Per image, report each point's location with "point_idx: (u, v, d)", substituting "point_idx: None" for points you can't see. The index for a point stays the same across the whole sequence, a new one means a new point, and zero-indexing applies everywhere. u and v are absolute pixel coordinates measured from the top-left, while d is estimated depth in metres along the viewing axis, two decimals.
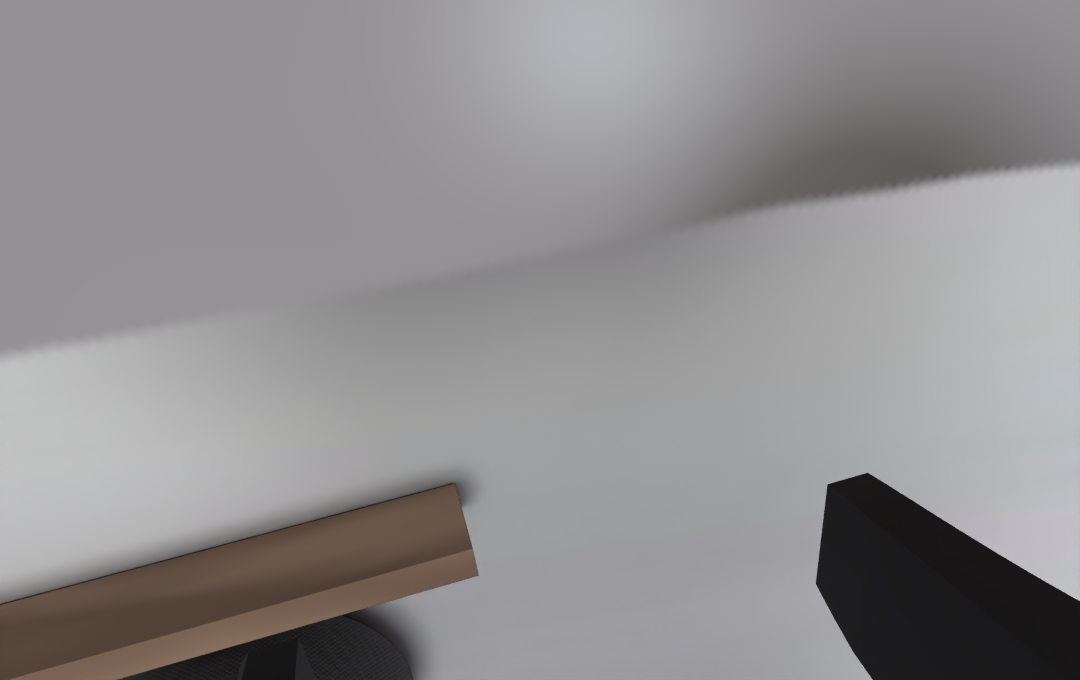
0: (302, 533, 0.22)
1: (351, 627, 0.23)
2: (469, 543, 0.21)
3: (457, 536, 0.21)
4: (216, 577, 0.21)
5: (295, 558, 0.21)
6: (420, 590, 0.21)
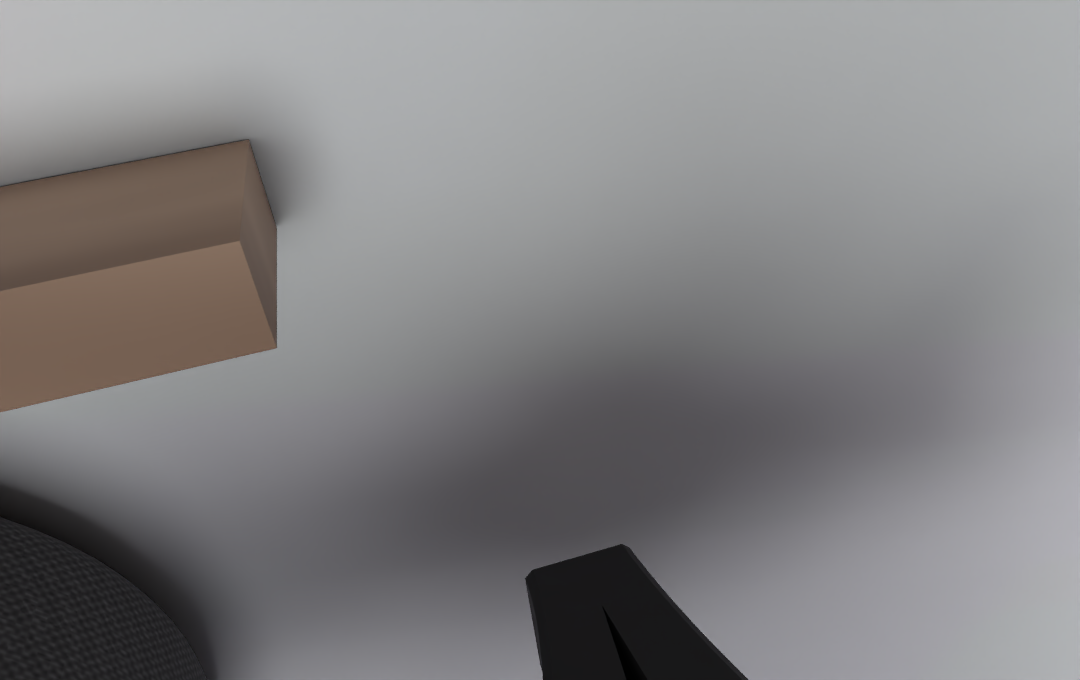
0: None
1: None
2: (234, 230, 0.06)
3: (205, 220, 0.07)
4: None
5: None
6: (83, 385, 0.07)
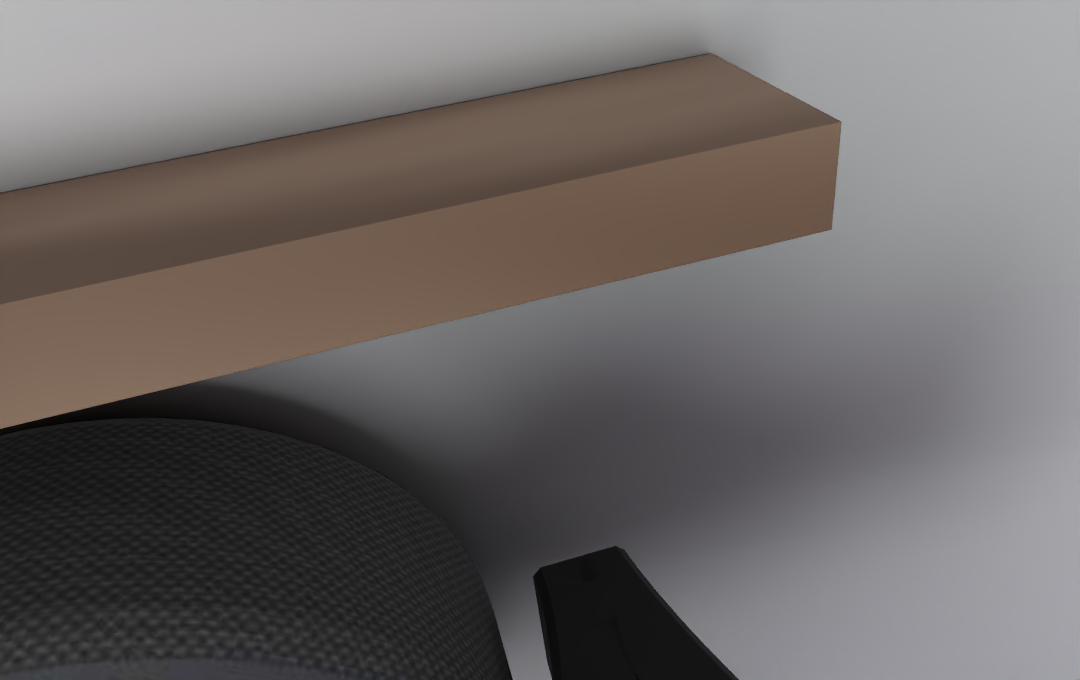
0: (327, 139, 0.08)
1: (354, 471, 0.09)
2: (823, 115, 0.07)
3: (776, 109, 0.07)
4: (77, 219, 0.07)
5: (310, 174, 0.07)
6: (675, 260, 0.07)
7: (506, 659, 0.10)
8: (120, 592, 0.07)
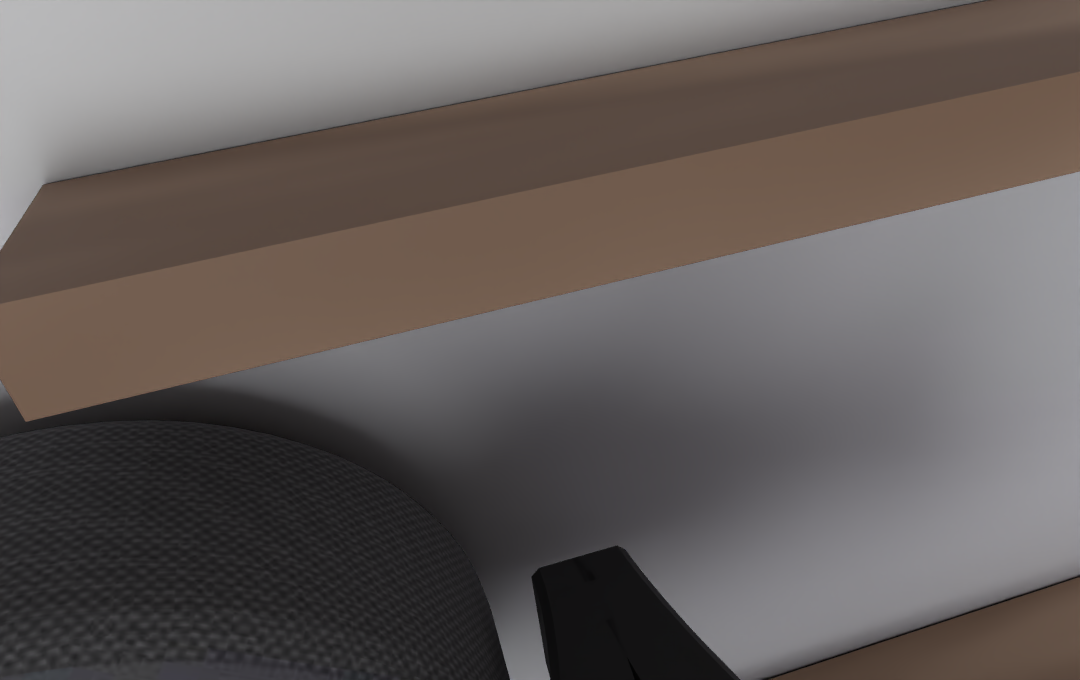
0: None
1: (348, 472, 0.09)
2: None
3: None
4: None
5: None
6: None
7: (503, 659, 0.10)
8: (109, 595, 0.07)
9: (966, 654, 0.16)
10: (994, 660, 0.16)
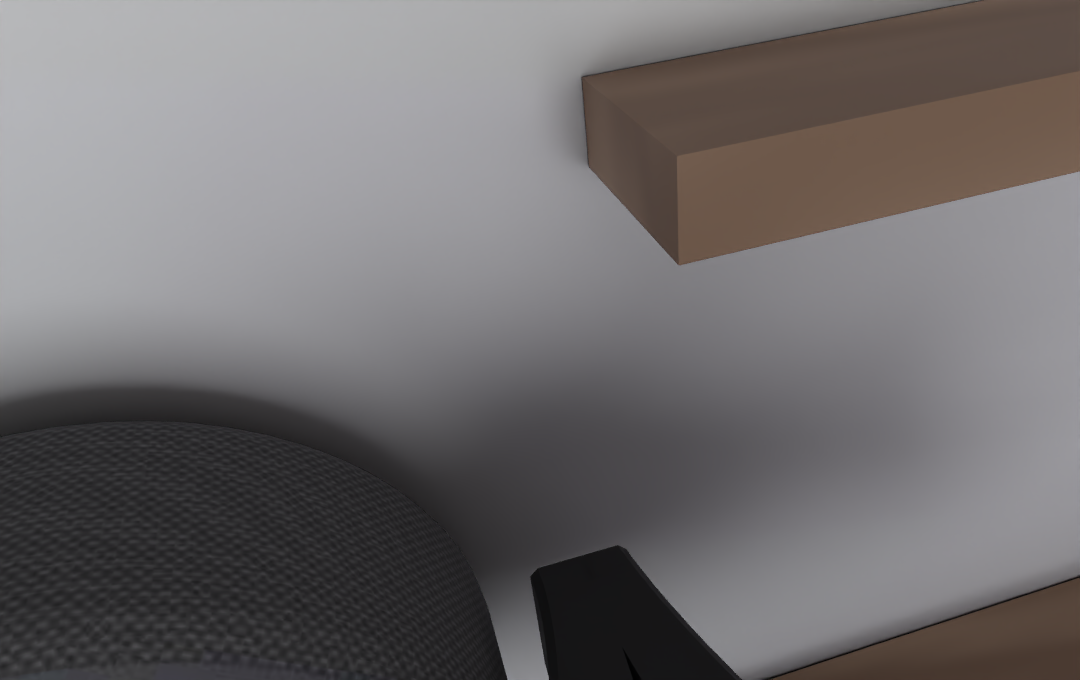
0: None
1: (345, 472, 0.09)
2: None
3: None
4: None
5: None
6: None
7: (501, 659, 0.10)
8: (106, 596, 0.07)
9: None
10: None
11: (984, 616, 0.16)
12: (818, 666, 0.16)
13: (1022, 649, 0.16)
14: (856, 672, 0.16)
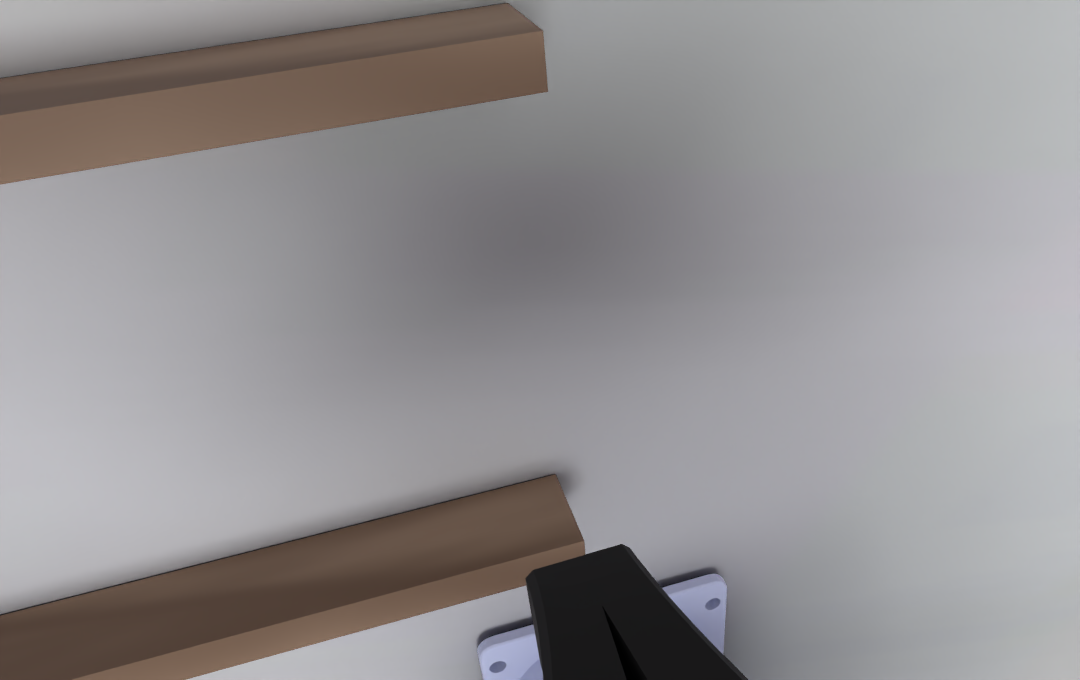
0: (282, 40, 0.14)
1: None
2: (537, 28, 0.14)
3: (517, 26, 0.14)
4: (148, 70, 0.13)
5: (270, 53, 0.14)
6: (460, 102, 0.14)
7: None
8: None
9: (367, 544, 0.21)
10: (383, 547, 0.20)
11: (184, 573, 0.20)
12: (29, 610, 0.20)
13: (186, 598, 0.20)
14: (52, 614, 0.20)
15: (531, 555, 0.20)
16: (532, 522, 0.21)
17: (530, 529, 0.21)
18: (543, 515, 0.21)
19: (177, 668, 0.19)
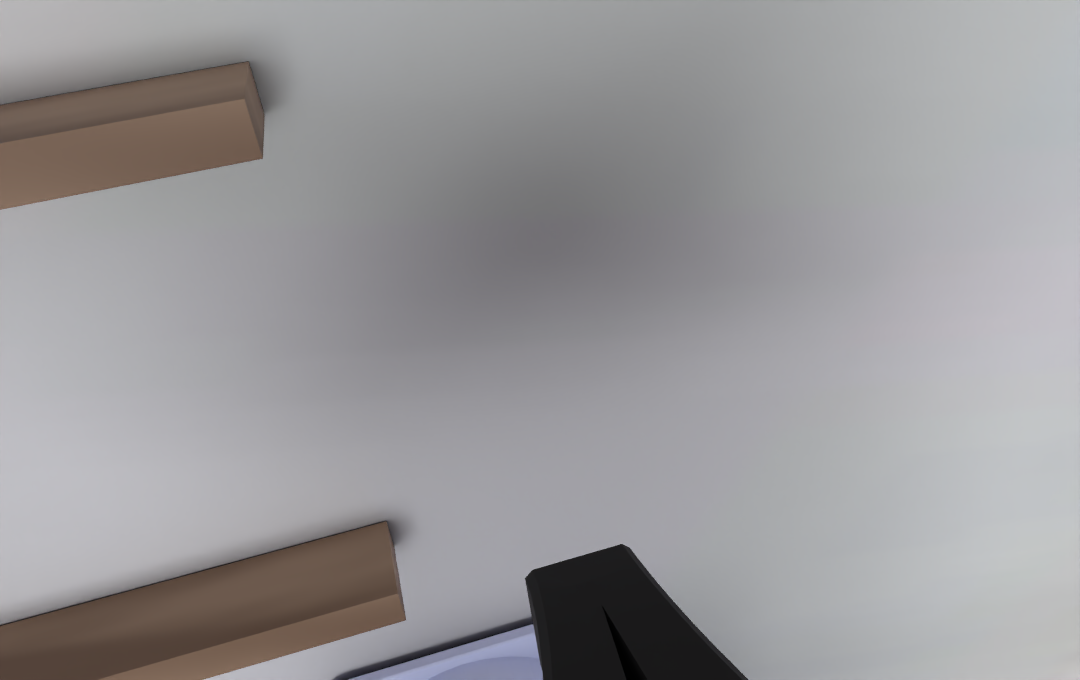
0: (1, 109, 0.14)
1: None
2: (241, 95, 0.13)
3: (227, 92, 0.13)
4: None
5: None
6: (167, 173, 0.13)
7: None
8: None
9: (183, 598, 0.20)
10: (198, 602, 0.20)
11: None
12: None
13: None
14: None
15: (342, 610, 0.19)
16: (351, 573, 0.20)
17: (347, 581, 0.20)
18: (363, 566, 0.21)
19: None
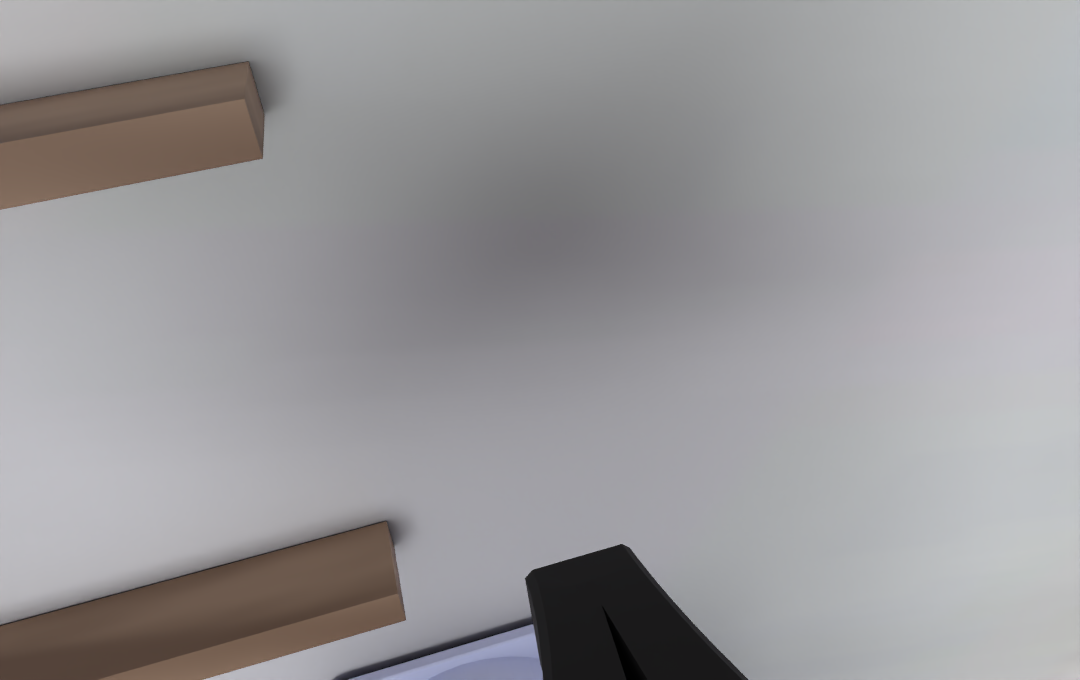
0: (1, 109, 0.14)
1: None
2: (241, 95, 0.13)
3: (227, 92, 0.13)
4: None
5: None
6: (167, 173, 0.13)
7: None
8: None
9: (183, 598, 0.20)
10: (198, 602, 0.20)
11: None
12: None
13: None
14: None
15: (342, 610, 0.19)
16: (351, 573, 0.20)
17: (347, 581, 0.20)
18: (363, 566, 0.21)
19: None
